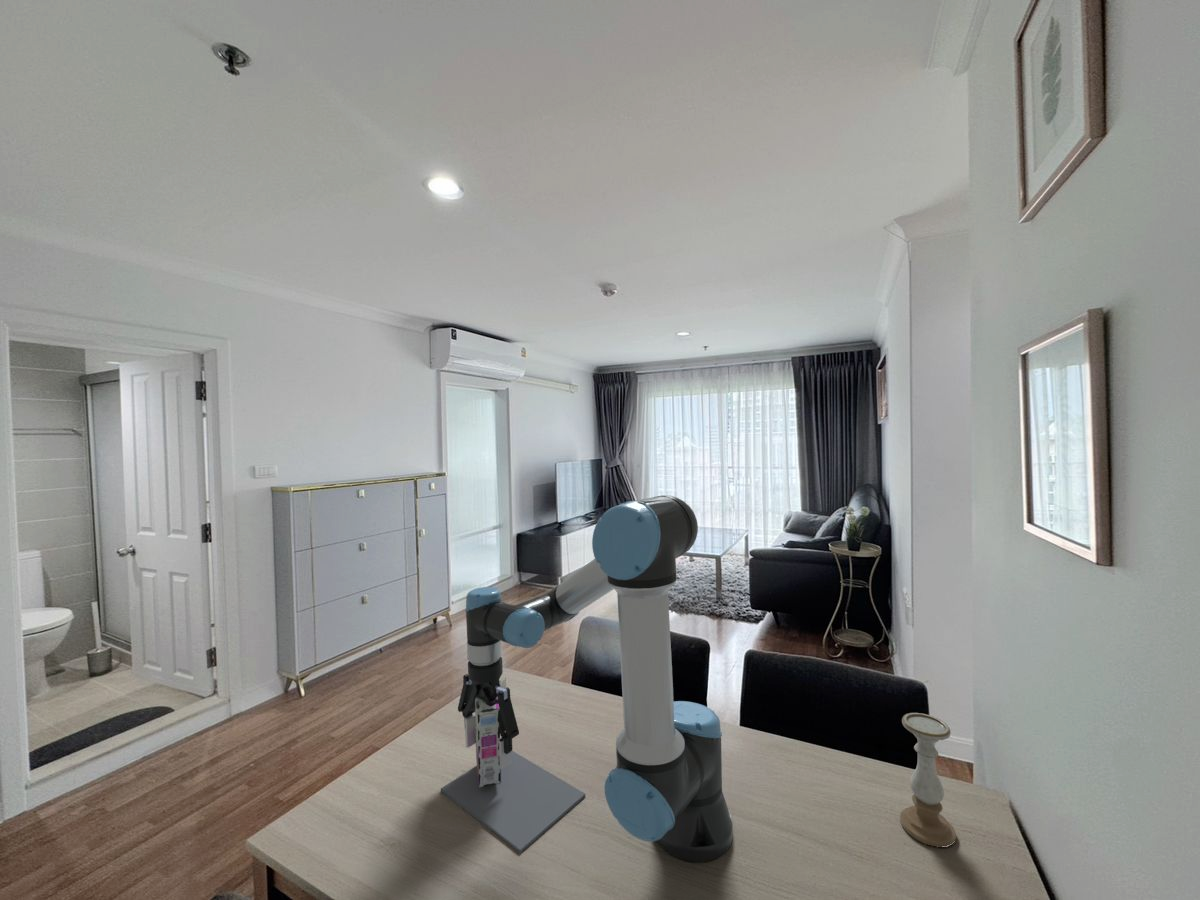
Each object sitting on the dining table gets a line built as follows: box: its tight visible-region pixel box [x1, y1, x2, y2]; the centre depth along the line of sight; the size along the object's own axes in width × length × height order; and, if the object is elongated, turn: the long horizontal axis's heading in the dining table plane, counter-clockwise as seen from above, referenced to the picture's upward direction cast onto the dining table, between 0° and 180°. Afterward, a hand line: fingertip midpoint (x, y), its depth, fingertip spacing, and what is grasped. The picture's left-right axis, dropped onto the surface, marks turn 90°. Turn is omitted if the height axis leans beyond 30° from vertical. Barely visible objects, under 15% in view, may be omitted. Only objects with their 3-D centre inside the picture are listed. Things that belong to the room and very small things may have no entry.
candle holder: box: [899, 712, 957, 848], centre depth 92 cm, size 9×9×20 cm
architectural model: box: [499, 676, 508, 689], centre depth 141 cm, size 3×7×7 cm, turn 167°
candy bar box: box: [474, 695, 501, 788], centre depth 109 cm, size 11×5×16 cm, turn 17°
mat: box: [440, 750, 586, 854], centre depth 105 cm, size 26×18×1 cm
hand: (488, 754), depth 110 cm, fingers closed on candy bar box, 12 cm apart
